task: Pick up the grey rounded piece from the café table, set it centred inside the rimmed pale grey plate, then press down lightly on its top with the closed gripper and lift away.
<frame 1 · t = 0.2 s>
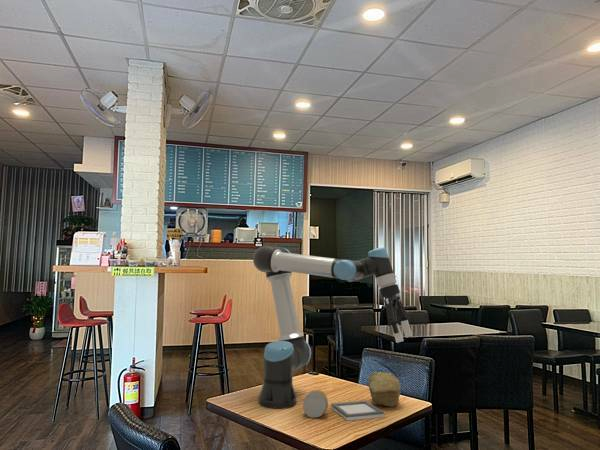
hand: (404, 339, 171), 28 cm above the table, tool tilted 20°, fingers open, 13 cm apart
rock: (385, 404, 180), on the table
grey rounded piece: (316, 415, 164), on the table
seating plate: (356, 412, 168), on the table
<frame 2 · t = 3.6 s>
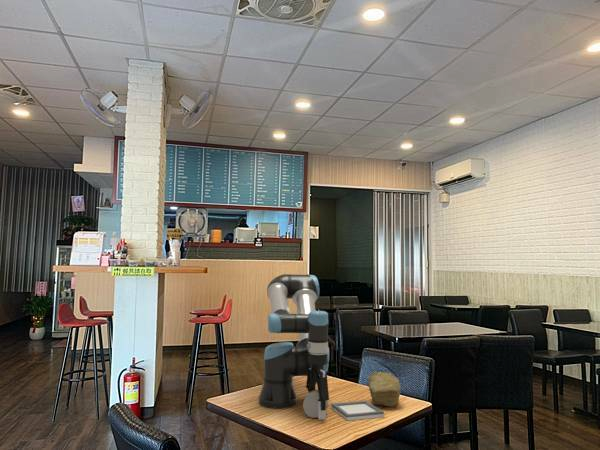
hand: (316, 414, 164), 0 cm above the table, tool pointing down, fingers closed on grey rounded piece, 10 cm apart
grey rounded piece: (316, 415, 164), on the table, touching gripper
everything else where it was.
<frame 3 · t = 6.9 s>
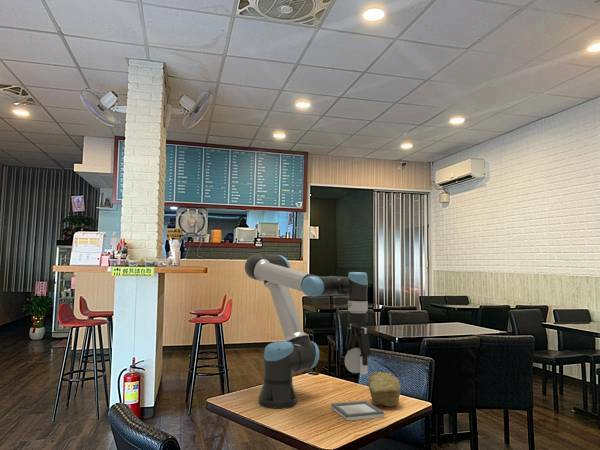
hand: (357, 370, 170), 15 cm above the table, tool pointing down, fingers closed on grey rounded piece, 10 cm apart
grey rounded piece: (357, 372, 170), point 15 cm above the table, touching gripper
everything else where it was.
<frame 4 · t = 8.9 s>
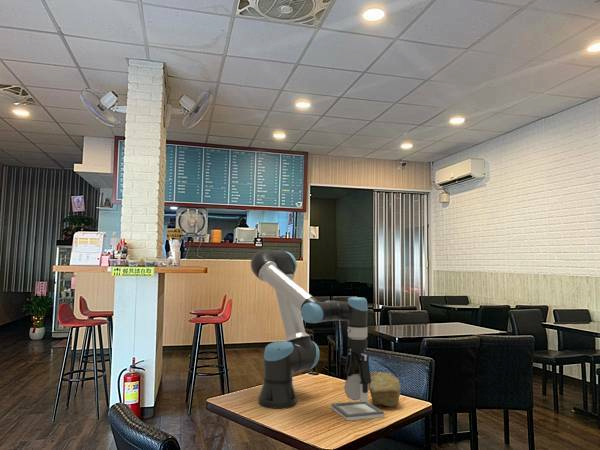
hand: (357, 397, 169), 6 cm above the table, tool pointing down, fingers closed on grey rounded piece, 10 cm apart
grey rounded piece: (357, 398, 169), point 5 cm above the table, touching gripper
everything else where it was.
when the fingers open (3 cm above the table, at t = 10.2 s): grey rounded piece drops 2 cm, resting on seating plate.
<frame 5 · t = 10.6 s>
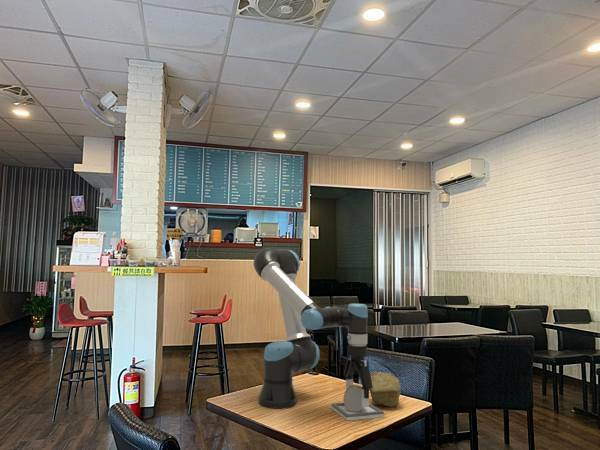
hand: (357, 401, 169), 4 cm above the table, tool pointing down, fingers open, 13 cm apart
grey rounded piece: (356, 410, 168), point 1 cm above the table, touching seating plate
everything else where it was.
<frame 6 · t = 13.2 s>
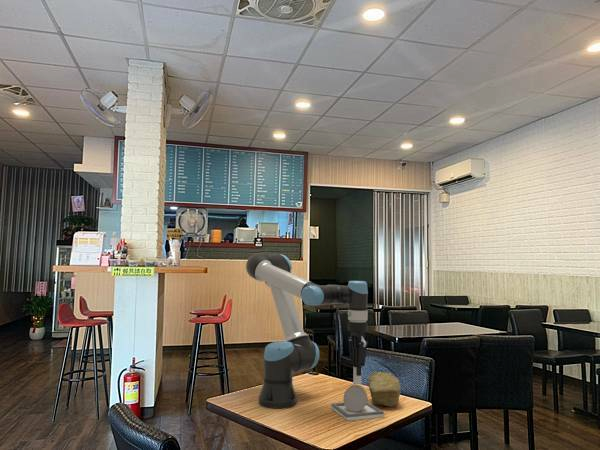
hand: (357, 383, 169), 11 cm above the table, tool pointing down, fingers closed
grey rounded piece: (356, 410, 168), point 1 cm above the table, touching gripper, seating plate
everything else where it was.
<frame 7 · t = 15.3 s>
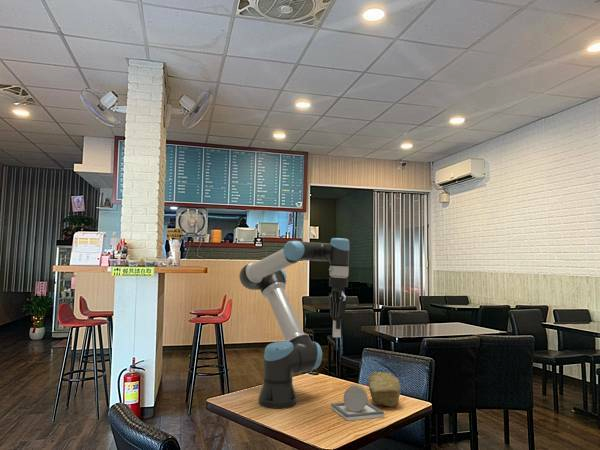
hand: (336, 336, 175), 27 cm above the table, tool pointing down, fingers closed
grey rounded piece: (356, 410, 168), point 1 cm above the table, touching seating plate
everything else where it was.
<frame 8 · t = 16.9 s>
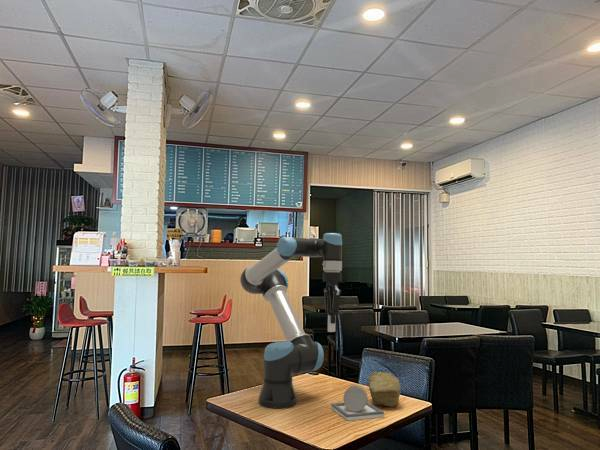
hand: (331, 331, 175), 29 cm above the table, tool pointing down, fingers closed
nothing on the table moved.
at the end: grey rounded piece 0.3 cm off-centre on the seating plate, point 0.8 cm above the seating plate's base; grey rounded piece tilted 0°; the gripper is holding nothing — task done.
